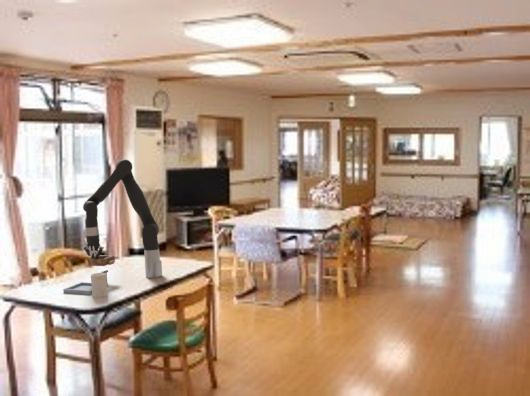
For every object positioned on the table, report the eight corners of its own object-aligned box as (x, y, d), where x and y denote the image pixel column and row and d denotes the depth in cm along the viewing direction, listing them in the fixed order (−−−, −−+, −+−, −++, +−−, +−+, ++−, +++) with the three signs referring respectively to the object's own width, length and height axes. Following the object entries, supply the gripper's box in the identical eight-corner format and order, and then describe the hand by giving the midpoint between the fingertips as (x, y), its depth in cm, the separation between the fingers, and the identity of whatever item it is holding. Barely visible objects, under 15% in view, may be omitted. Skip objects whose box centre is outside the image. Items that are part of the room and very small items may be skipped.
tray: (107, 287, 344) (107, 283, 344) (90, 294, 329) (90, 290, 329) (81, 285, 350) (81, 282, 350) (63, 292, 336) (63, 289, 335)
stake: (109, 282, 356) (108, 270, 355) (104, 284, 351) (103, 272, 350) (106, 282, 356) (105, 270, 356) (101, 284, 352) (100, 272, 351)
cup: (99, 298, 320) (97, 276, 319) (89, 296, 325) (87, 275, 324) (110, 294, 327) (109, 273, 326) (100, 293, 332) (98, 272, 330)
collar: (117, 262, 356) (117, 255, 355) (106, 266, 345) (106, 259, 345) (99, 261, 360) (99, 255, 360) (88, 265, 350) (87, 259, 349)
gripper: (105, 233, 354) (108, 261, 356) (87, 233, 359) (89, 261, 361) (98, 235, 347) (100, 264, 349) (79, 235, 352) (81, 263, 354)
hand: (95, 262), depth 355 cm, fingers closed on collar, 1 cm apart
